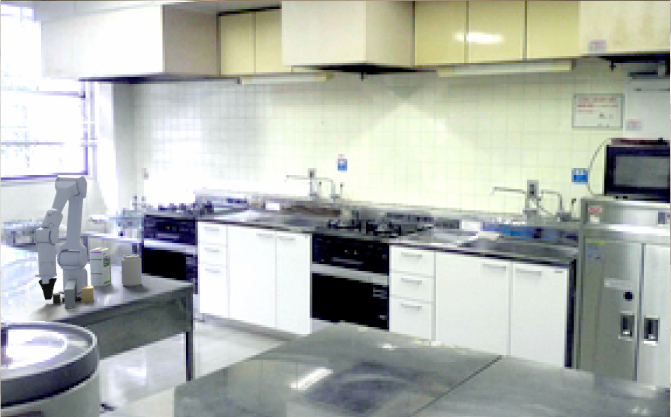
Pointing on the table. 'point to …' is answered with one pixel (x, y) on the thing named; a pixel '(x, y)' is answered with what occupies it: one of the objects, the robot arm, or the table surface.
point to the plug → (85, 293)
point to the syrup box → (100, 266)
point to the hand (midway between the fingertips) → (48, 299)
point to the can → (131, 270)
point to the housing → (70, 293)
